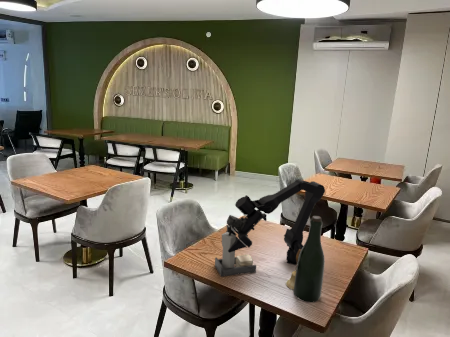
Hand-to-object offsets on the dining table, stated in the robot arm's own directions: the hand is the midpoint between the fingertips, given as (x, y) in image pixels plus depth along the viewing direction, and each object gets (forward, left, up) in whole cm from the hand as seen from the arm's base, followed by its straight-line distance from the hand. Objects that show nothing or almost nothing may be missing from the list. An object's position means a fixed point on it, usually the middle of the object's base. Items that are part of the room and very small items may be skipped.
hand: (225, 247), depth 144 cm
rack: (-4, -3, -11) cm, 12 cm away
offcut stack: (-8, -6, -11) cm, 15 cm away
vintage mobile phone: (-1, -1, -11) cm, 11 cm away
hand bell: (-31, 0, -11) cm, 33 cm away
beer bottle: (-36, +5, -11) cm, 38 cm away
